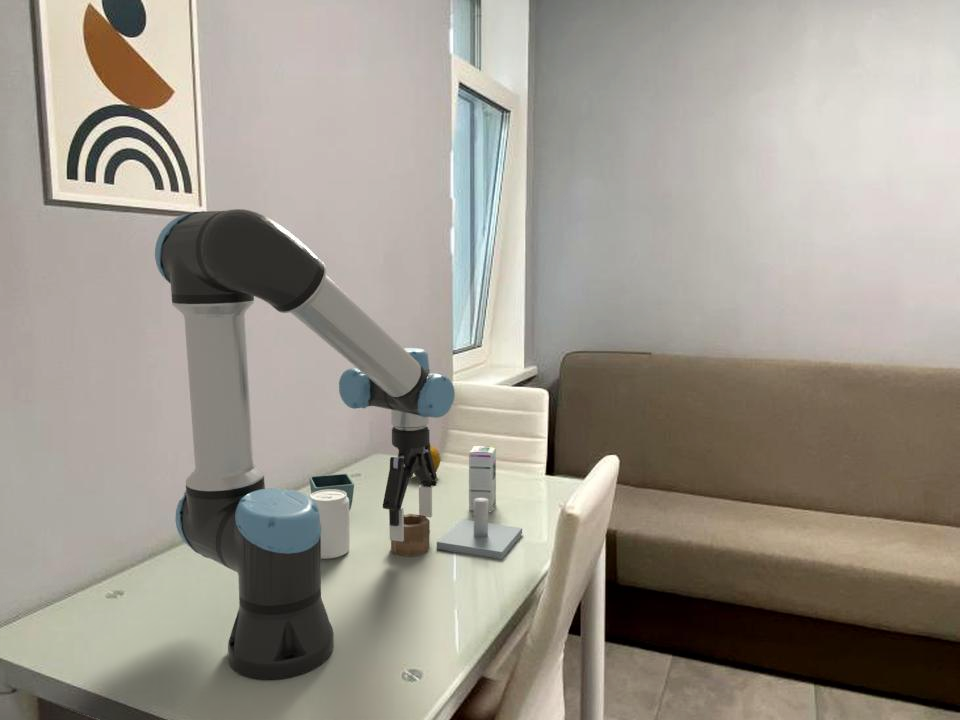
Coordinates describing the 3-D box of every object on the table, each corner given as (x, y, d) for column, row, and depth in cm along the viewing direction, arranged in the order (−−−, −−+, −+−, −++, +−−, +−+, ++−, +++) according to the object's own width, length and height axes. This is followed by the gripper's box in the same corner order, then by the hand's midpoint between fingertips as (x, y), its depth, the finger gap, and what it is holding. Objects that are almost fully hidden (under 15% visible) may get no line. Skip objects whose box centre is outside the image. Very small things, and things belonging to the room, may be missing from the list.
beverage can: (340, 562, 137) (339, 503, 135) (301, 558, 139) (300, 499, 137) (355, 546, 145) (355, 490, 143) (318, 543, 146) (317, 487, 145)
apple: (428, 470, 199) (428, 440, 198) (446, 478, 193) (447, 446, 192) (403, 476, 194) (403, 444, 193) (421, 483, 187) (421, 451, 186)
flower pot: (355, 522, 159) (354, 483, 157) (315, 527, 155) (314, 487, 154) (347, 509, 167) (347, 472, 166) (309, 514, 163) (308, 476, 162)
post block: (501, 559, 140) (502, 515, 138) (436, 548, 144) (436, 506, 143) (522, 534, 153) (522, 494, 152) (461, 525, 157) (462, 486, 156)
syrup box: (492, 512, 166) (493, 452, 164) (467, 510, 167) (468, 451, 165) (495, 504, 172) (497, 446, 170) (471, 503, 173) (472, 445, 171)
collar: (418, 558, 140) (419, 528, 139) (386, 552, 142) (386, 524, 141) (433, 544, 146) (433, 517, 146) (402, 539, 149) (402, 512, 148)
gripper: (399, 443, 128) (401, 554, 131) (451, 414, 151) (452, 509, 154) (362, 439, 131) (365, 548, 134) (419, 411, 154) (420, 505, 157)
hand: (411, 527), depth 144 cm, fingers open, 13 cm apart
